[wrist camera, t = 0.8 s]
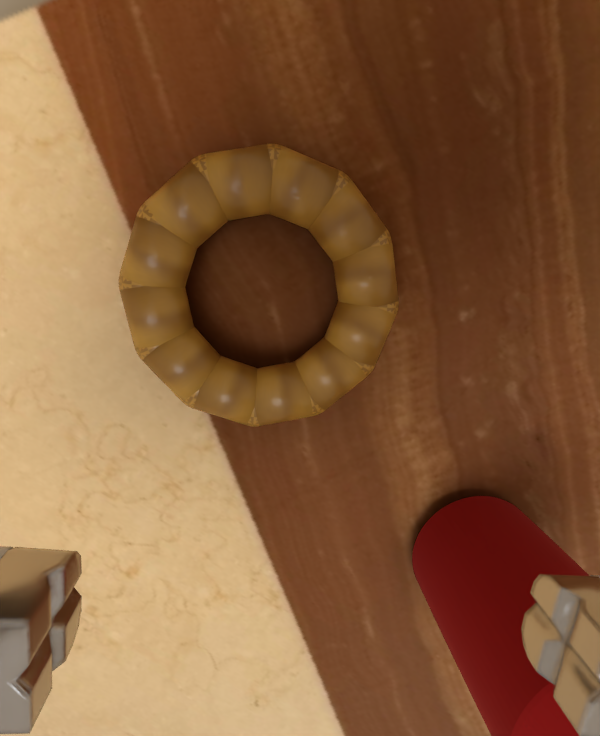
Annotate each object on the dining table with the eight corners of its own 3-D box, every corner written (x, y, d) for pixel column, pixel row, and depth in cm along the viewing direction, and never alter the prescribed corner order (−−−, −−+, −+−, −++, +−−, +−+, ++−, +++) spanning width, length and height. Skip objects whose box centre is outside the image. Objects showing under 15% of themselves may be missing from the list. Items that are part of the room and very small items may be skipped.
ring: (176, 110, 18) (163, 86, 16) (426, 215, 20) (449, 209, 18) (102, 367, 21) (80, 382, 18) (333, 441, 22) (342, 464, 20)
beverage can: (442, 615, 26) (593, 913, 14) (384, 531, 24) (499, 788, 12) (545, 554, 25) (789, 808, 13) (492, 464, 23) (718, 664, 12)
